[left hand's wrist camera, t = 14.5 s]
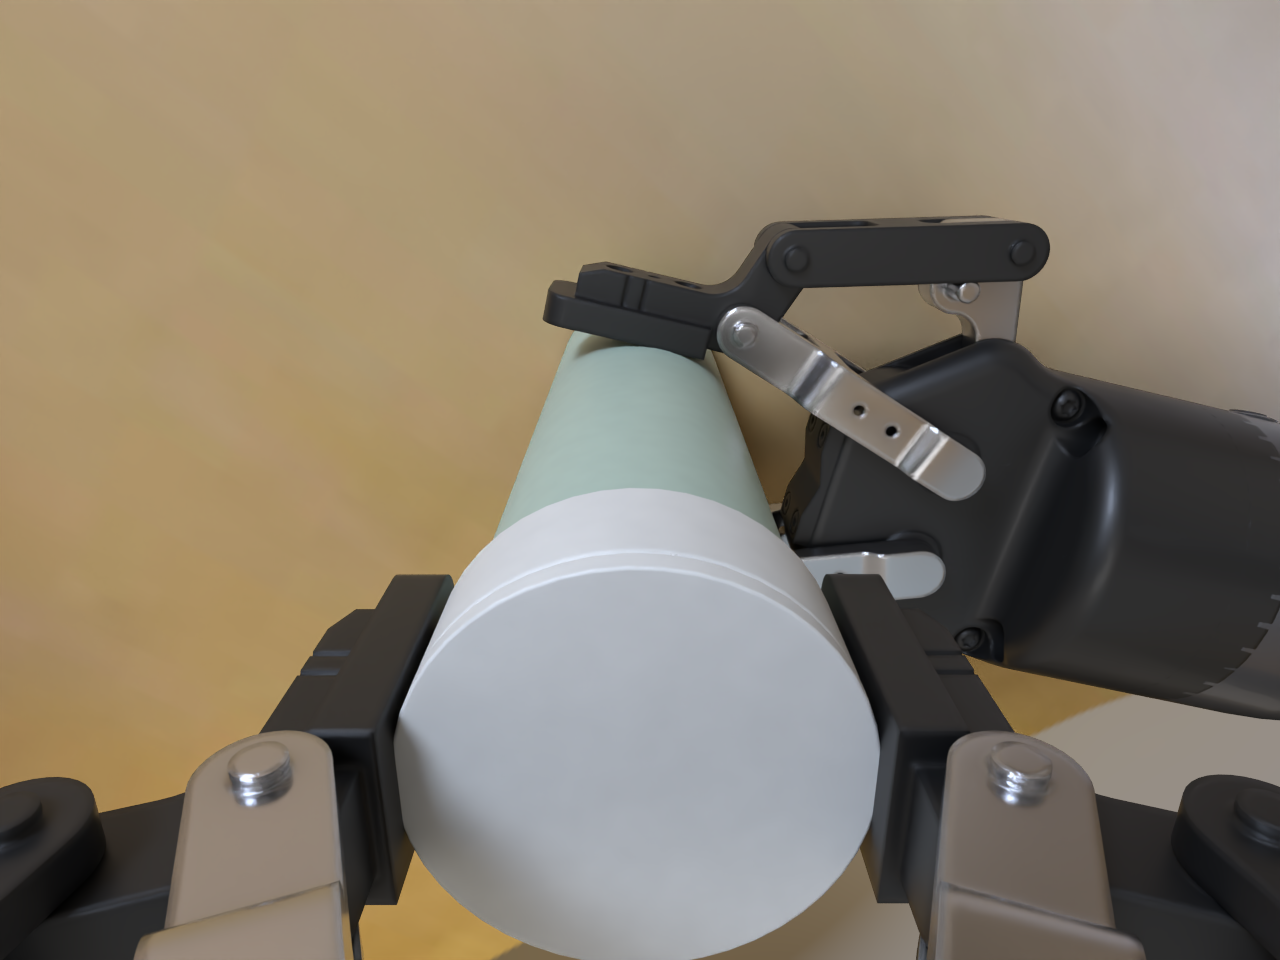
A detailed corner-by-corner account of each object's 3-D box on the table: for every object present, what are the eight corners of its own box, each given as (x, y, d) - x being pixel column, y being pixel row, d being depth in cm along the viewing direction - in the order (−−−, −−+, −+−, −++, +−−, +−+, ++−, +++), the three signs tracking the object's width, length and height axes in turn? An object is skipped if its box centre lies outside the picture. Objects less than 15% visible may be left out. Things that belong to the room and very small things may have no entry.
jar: (709, 446, 27) (819, 905, 11) (562, 442, 27) (441, 897, 11) (718, 298, 26) (867, 565, 9) (562, 294, 26) (417, 553, 9)
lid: (848, 478, 10) (901, 558, 8) (828, 824, 12) (867, 960, 10) (411, 491, 10) (355, 574, 8) (458, 834, 12) (422, 971, 10)
